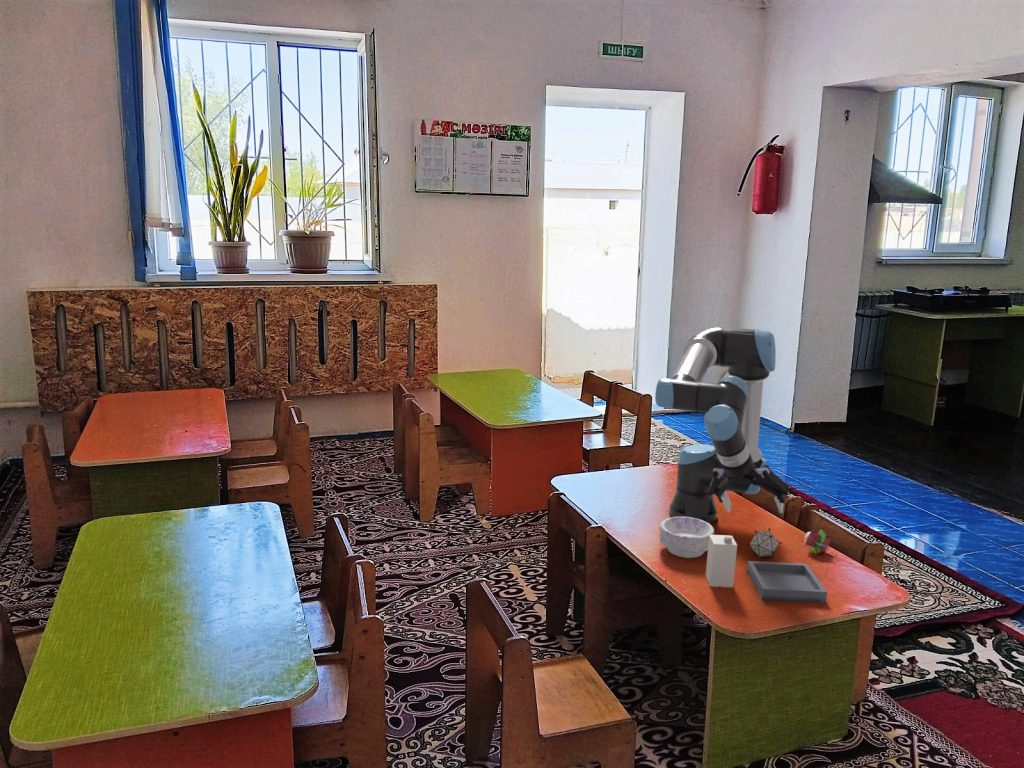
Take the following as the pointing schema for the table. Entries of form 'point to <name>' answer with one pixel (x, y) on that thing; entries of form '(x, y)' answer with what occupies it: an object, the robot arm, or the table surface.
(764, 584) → the tray
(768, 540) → the game die
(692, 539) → the white round bowl
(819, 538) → the geometric puzzle
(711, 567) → the carton
